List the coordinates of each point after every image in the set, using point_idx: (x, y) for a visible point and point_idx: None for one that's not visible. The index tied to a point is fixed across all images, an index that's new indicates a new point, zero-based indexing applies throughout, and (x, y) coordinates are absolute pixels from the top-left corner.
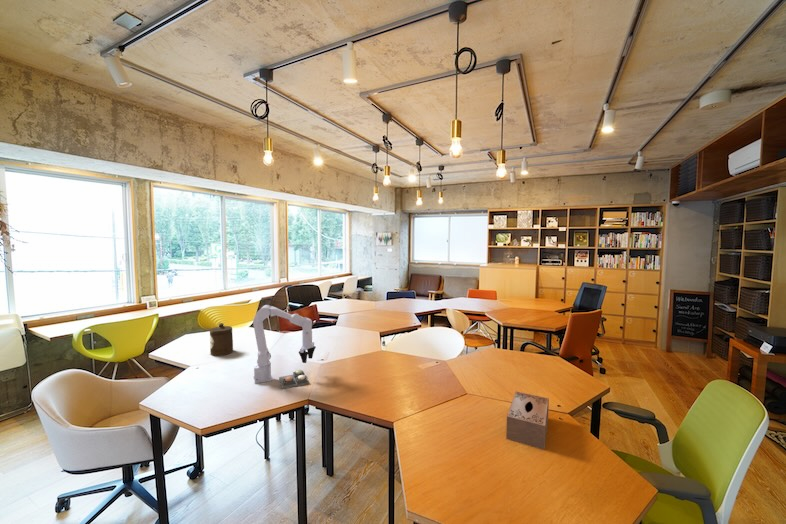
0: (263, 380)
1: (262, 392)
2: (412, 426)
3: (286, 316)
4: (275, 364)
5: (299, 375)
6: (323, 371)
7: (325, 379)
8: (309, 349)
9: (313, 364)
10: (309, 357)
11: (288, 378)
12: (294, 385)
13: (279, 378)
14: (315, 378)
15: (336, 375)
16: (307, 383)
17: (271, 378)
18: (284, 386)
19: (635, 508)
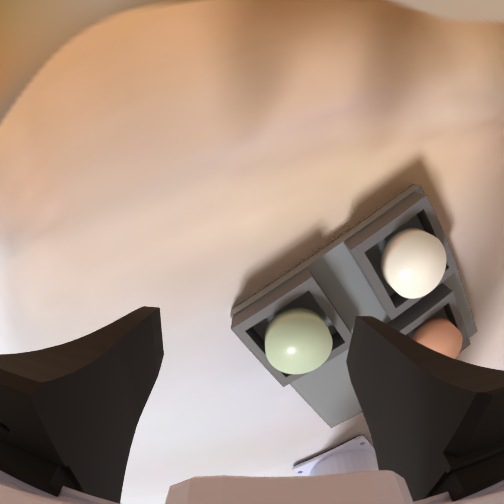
0: (376, 460)
1: None
2: None
3: None
4: (140, 486)
5: (400, 294)
6: (123, 154)
7: (297, 60)
8: (106, 455)
9: (34, 304)
10: (158, 350)
11: (449, 346)
12: (456, 272)
13: (345, 417)
14: (294, 159)
15: (192, 4)
16: (418, 187)
17: (343, 448)
18: (471, 324)
19: None
